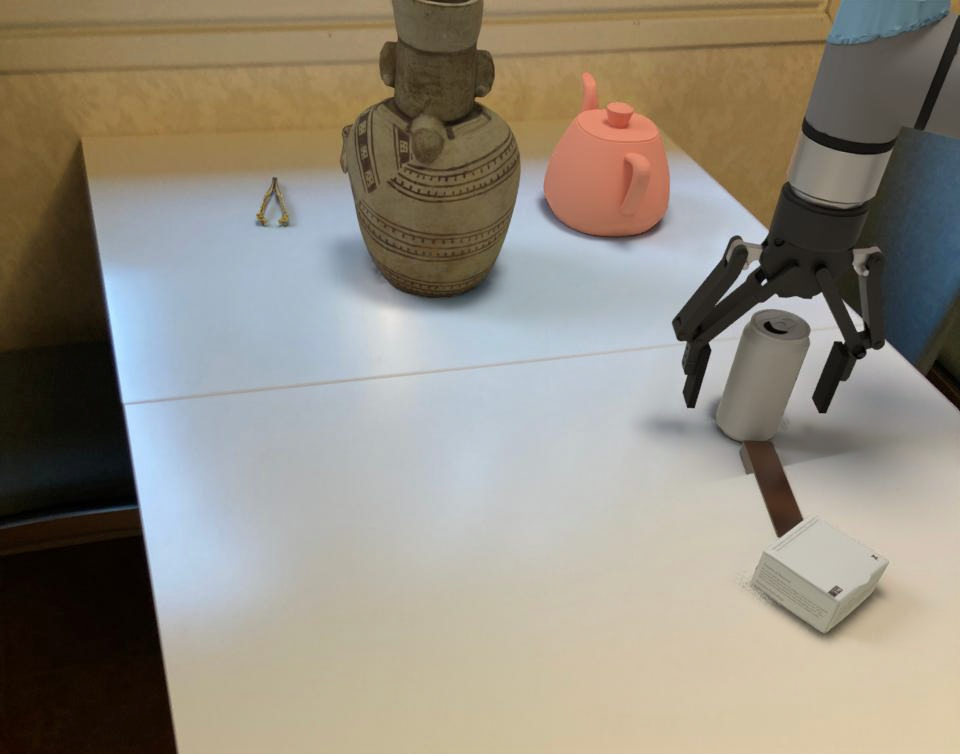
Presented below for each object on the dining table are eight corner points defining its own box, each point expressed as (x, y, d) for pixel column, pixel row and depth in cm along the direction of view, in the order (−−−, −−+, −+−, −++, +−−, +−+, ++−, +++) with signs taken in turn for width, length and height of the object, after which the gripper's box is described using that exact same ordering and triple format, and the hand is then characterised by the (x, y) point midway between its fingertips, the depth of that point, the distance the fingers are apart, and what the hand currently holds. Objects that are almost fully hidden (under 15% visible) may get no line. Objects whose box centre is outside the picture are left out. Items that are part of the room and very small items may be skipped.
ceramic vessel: (397, 216, 122) (399, -63, 99) (537, 267, 116) (573, -19, 93) (307, 272, 111) (286, -28, 88) (456, 332, 105) (475, 25, 82)
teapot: (518, 171, 134) (528, 67, 124) (626, 169, 138) (645, 67, 127) (569, 255, 118) (586, 144, 108) (690, 250, 122) (717, 142, 112)
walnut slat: (804, 548, 85) (810, 536, 84) (773, 547, 85) (778, 535, 84) (767, 452, 94) (772, 440, 93) (739, 451, 94) (743, 439, 93)
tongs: (284, 182, 126) (283, 167, 125) (291, 231, 118) (290, 216, 117) (252, 183, 125) (251, 167, 124) (257, 232, 118) (256, 216, 116)
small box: (794, 553, 84) (814, 510, 81) (869, 602, 81) (893, 560, 77) (743, 591, 81) (761, 549, 77) (819, 645, 77) (841, 603, 73)
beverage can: (701, 424, 96) (733, 318, 87) (738, 403, 100) (773, 299, 91) (750, 455, 94) (789, 349, 85) (787, 432, 97) (828, 327, 88)
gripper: (953, 179, 82) (861, 386, 98) (675, 162, 80) (627, 376, 96) (987, 218, 77) (884, 429, 93) (692, 201, 75) (638, 420, 91)
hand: (753, 403), depth 94 cm, fingers open, 13 cm apart
